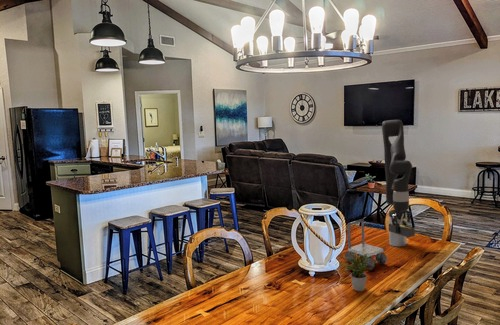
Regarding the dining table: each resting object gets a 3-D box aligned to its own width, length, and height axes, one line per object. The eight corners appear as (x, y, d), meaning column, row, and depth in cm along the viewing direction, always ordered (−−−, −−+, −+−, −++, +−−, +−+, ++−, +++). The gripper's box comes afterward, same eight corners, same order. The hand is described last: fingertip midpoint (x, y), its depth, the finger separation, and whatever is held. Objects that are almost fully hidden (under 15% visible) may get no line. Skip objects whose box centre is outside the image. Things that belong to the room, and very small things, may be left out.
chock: (388, 231, 202) (388, 223, 202) (395, 229, 204) (394, 222, 203) (408, 237, 190) (408, 229, 190) (414, 235, 192) (414, 227, 192)
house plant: (353, 278, 185) (353, 245, 183) (381, 286, 175) (380, 251, 173) (337, 288, 175) (336, 253, 173) (365, 297, 165) (364, 260, 163)
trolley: (344, 261, 207) (343, 222, 205) (359, 256, 214) (358, 218, 212) (372, 270, 193) (371, 228, 190) (387, 264, 199) (386, 224, 197)
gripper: (402, 196, 202) (402, 228, 204) (385, 200, 194) (386, 233, 196) (415, 198, 196) (415, 230, 198) (399, 202, 188) (399, 236, 190)
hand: (401, 232), depth 197 cm, fingers closed on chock, 5 cm apart
